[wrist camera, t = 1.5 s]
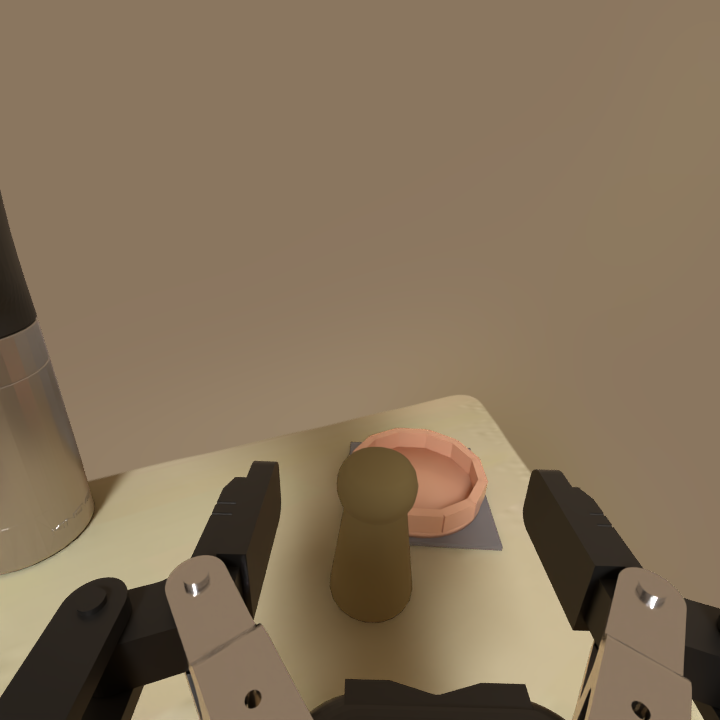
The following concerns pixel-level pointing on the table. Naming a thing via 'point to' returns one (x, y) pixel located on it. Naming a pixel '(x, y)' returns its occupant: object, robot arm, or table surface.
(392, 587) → the pepper mill
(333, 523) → the table surface
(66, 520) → the robot arm
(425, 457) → the bowl
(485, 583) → the table surface
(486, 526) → the mat
